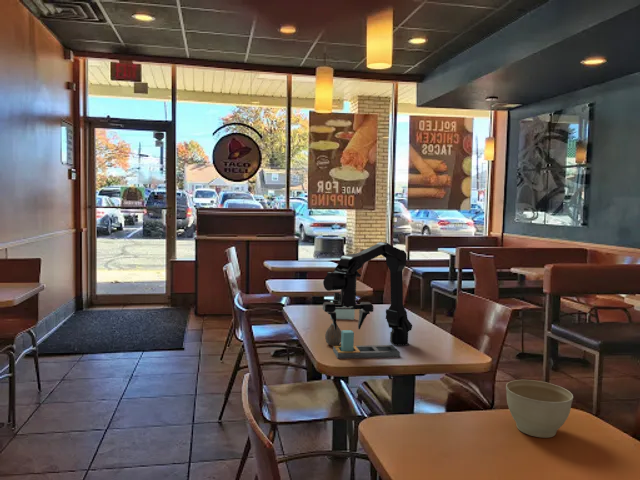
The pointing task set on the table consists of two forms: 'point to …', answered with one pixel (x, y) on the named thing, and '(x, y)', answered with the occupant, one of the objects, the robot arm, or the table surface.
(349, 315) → the l-shaped corner panel
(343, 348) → the peg
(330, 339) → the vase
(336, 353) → the grey slotted tray
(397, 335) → the robot arm
